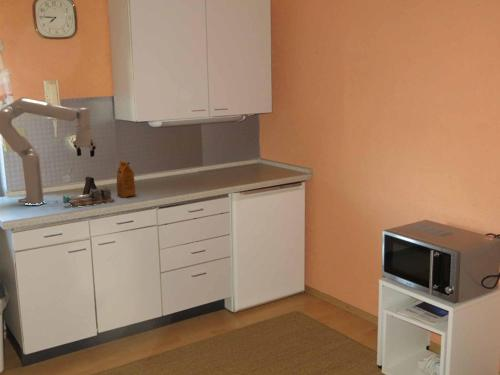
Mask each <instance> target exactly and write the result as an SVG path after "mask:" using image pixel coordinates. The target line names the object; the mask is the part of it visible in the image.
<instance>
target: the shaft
mask: <svg viewBox="0 0 500 375" xmlns="http://www.w3.org/2000/svg"><path fill="white" fill-rule="evenodd" d="M93 197H94V194H91V193H90V194H86V195H83V194H81V195H80V194H79V195H73V196H69V195H63V196H62V199H63V203H64V204H69V202H70V201H77V200H84V199H90V198H93Z"/></svg>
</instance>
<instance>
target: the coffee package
mask: <svg viewBox="0 0 500 375" xmlns="http://www.w3.org/2000/svg"><path fill="white" fill-rule="evenodd" d="M129 165H130V162H128V161H124V160H122V159H121V160H120V162H119V165H118V168H117V171H116V172H117V173H116V191H117V196H119V197H120V198H127V197H133V196H135V195H136V185H135V173H134V171H133V170H132V168H131V167H130V166H129Z"/></svg>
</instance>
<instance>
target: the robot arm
mask: <svg viewBox="0 0 500 375" xmlns="http://www.w3.org/2000/svg"><path fill="white" fill-rule="evenodd" d="M22 114H32V115H36V116H41V117H45V118H52V119H56V120H61V121H65V122H66V121H67V122H74V121H75V120H76V122H77V123H76V124H77V125H76V129H77V130H76V133H75V140H74V141H72V145H73V147H74V148H75V150H76V155H77V157H81V156H82V149H81V148H89V153H90V157H91V158H92V157H95V150H96V148H97V146H98V142H97V141H95V140H94V135H93V132H92V129H91V116H90V108H89V107H72V106H69V107H65V106H60V105H57V104H53V103H51V102H48V101H43V100H38V99H34V98H28V97H25V96H21V97H19V98H18V99H16V100H14V101H13V102H11V103H9V104H7V105H6V106H4V107H2V108H1V109H0V135H1V137H2V138H3V139H4V141H5V142H6V143H7V145H9V147H10V148H11V150H12V151H13V152H15V153H16V154H17V155H18V156H19V157H20V159H21V163H22V168H23V169H22V170H23V171H22V172H23V177H24V178H23V179H24V185H25V186H24V188H25V196H24V198H19V199H18V203H23V204H24V203H25V202H26V203H28V204H29V203H31V204H36V203H38V204H40V203H41V202H42V203H44V202H43V201H44V200H45V199H44V192H43V191H44V190H43V180H42V172H41V162H40V154H39V153H38V152H37V150H36V149H35V147H33V145H32V144H31V142H30V141H29V140H28V139H27V138H26V137H25V136H23V135H21V134H20V133H19V131H18V130H17V129H16V128H15V127H14V125H13V123H12V121H13V120H14V119H16V118H18V117H19V116H21V115H22ZM46 201H47V200H46ZM46 201H45V202H46Z"/></svg>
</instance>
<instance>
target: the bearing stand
mask: <svg viewBox="0 0 500 375" xmlns="http://www.w3.org/2000/svg"><path fill="white" fill-rule="evenodd" d="M111 190H112V189H111V188H109V187H100V188H97V189H90V194H94V197H93V198H86V199H79V200H73V201H69V203H70V204H71V205H72V206H74V207H78V206H85V207H87V206H86V205H92V206H95V205H94V204H98V205H102V204H101V203H104V204H108V203H107V202H111V203H115V202H114V201H115V199H114V198H112V191H111ZM69 203H68V204H69ZM71 205H70V206H71ZM72 206H71V207H72ZM74 207H73V208H74Z"/></svg>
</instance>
